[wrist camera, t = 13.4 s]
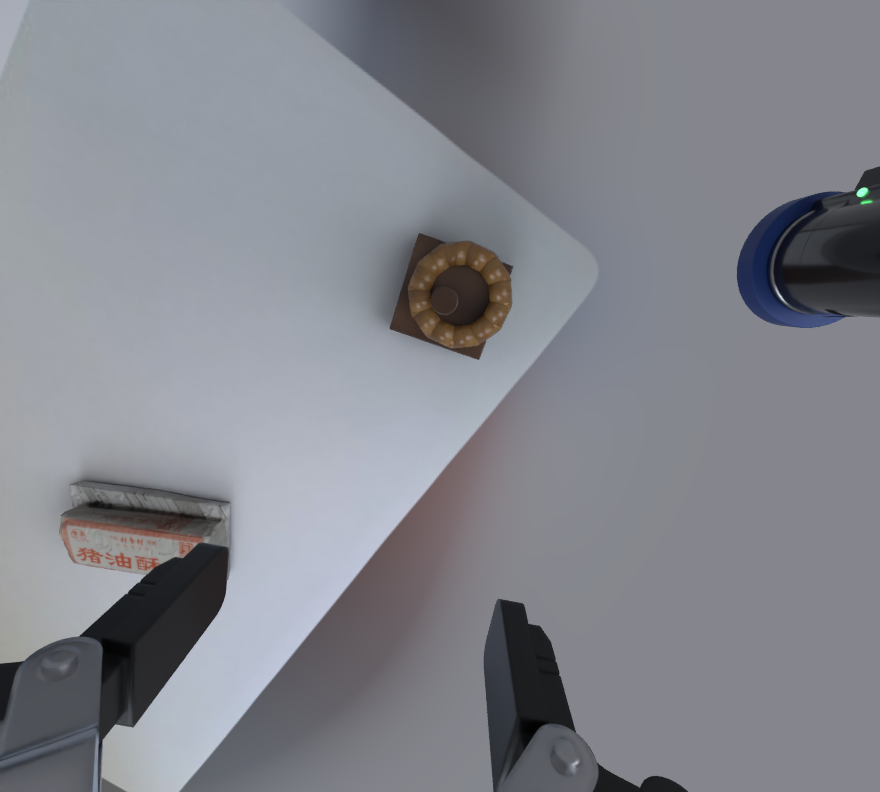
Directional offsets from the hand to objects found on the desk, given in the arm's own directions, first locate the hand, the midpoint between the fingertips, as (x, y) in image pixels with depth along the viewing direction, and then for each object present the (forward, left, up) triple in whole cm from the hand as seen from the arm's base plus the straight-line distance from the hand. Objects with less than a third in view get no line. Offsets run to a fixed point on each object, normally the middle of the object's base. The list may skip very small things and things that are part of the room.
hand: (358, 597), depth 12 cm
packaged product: (+28, -25, -33) cm, 50 cm away
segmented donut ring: (-9, 0, -29) cm, 30 cm away
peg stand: (-8, -1, -33) cm, 34 cm away
